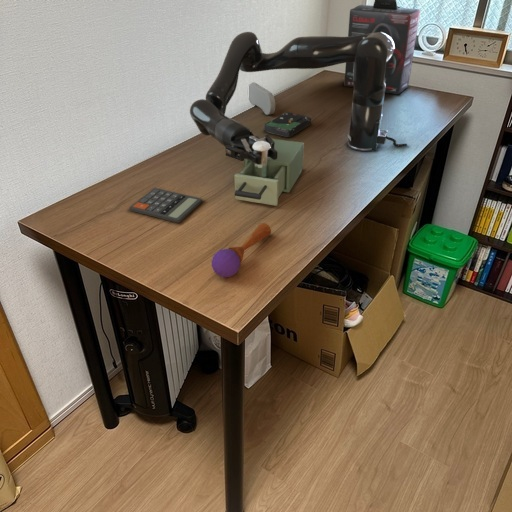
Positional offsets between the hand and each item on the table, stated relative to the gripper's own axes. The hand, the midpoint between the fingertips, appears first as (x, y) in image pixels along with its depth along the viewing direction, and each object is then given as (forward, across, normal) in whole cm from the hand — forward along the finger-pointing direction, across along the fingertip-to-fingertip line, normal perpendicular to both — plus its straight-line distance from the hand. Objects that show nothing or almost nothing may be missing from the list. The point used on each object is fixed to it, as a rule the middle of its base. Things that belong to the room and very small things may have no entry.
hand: (267, 158), depth 123 cm
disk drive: (-38, +34, +13) cm, 52 cm away
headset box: (-55, +90, +13) cm, 106 cm away
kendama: (+18, -18, +12) cm, 29 cm away
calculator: (-12, -24, +12) cm, 29 cm away
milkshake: (-3, 0, +6) cm, 7 cm away
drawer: (-2, -1, +11) cm, 11 cm away
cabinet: (-10, +9, +12) cm, 18 cm away
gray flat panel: (-59, +36, +13) cm, 70 cm away
